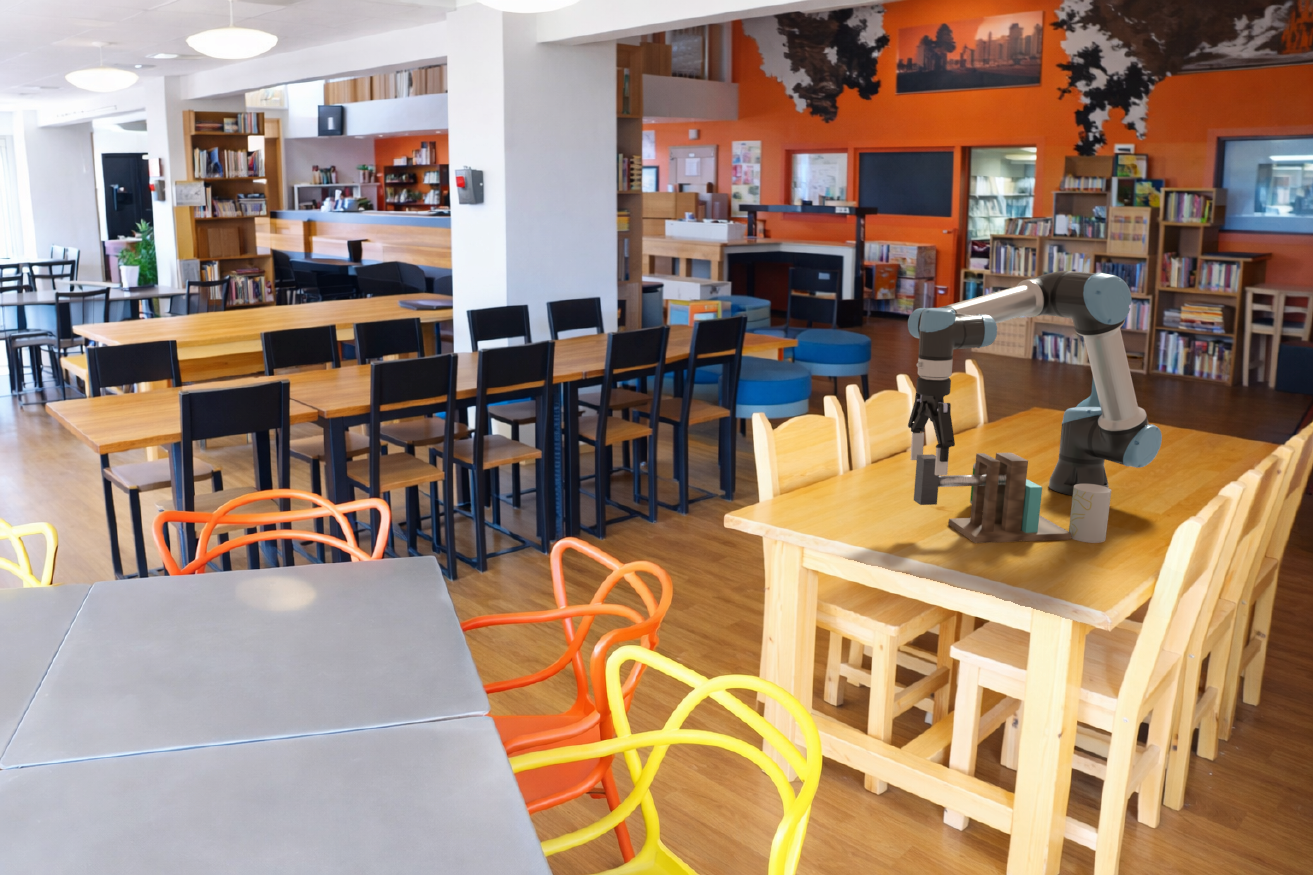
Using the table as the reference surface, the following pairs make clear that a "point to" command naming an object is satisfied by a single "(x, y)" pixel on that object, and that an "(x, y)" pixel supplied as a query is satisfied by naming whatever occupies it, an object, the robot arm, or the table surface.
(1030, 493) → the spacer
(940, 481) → the shaft
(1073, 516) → the cup
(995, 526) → the stand
